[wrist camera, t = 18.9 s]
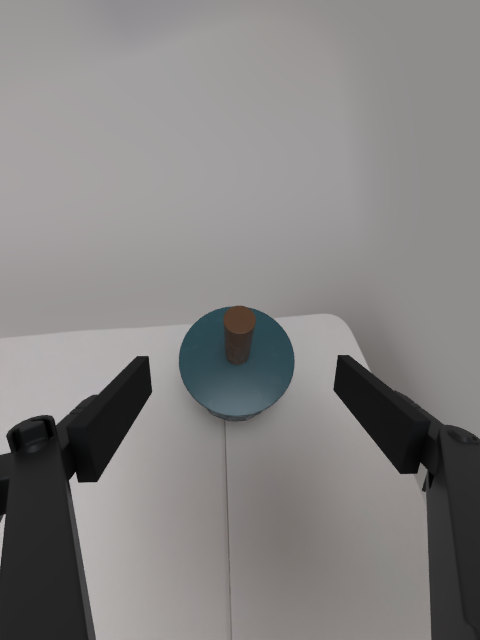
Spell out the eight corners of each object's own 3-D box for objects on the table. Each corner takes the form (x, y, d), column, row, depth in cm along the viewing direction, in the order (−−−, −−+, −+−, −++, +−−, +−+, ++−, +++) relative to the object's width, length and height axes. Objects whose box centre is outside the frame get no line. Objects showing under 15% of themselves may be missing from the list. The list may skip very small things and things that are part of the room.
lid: (284, 310, 30) (303, 262, 22) (300, 416, 24) (335, 399, 16) (186, 310, 30) (170, 261, 22) (173, 418, 23) (144, 403, 15)
